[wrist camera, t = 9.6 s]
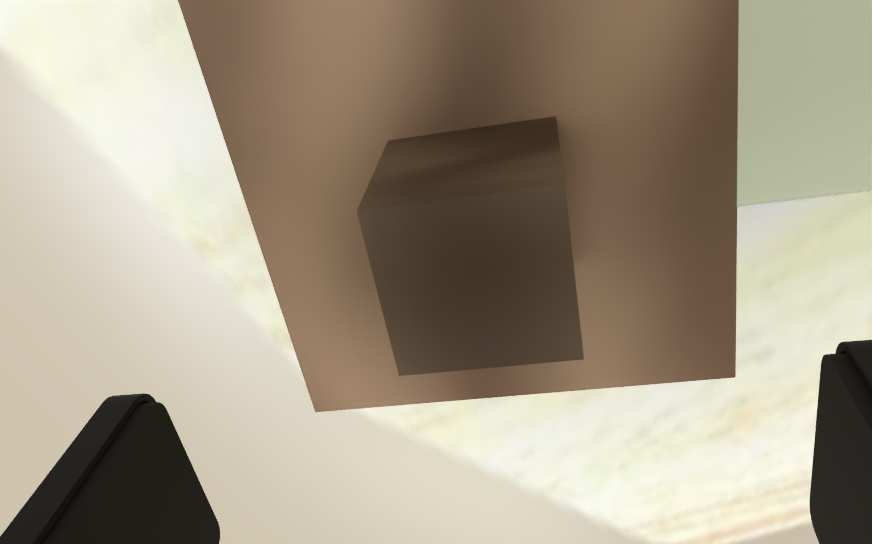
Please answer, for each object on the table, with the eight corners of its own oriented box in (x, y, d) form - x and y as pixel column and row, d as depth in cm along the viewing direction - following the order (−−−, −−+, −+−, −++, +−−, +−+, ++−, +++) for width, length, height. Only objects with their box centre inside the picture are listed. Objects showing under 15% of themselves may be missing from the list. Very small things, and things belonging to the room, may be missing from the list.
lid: (727, -113, 16) (807, -96, 11) (726, 355, 21) (779, 486, 17) (194, -11, 18) (88, 36, 13) (323, 391, 23) (278, 515, 19)
